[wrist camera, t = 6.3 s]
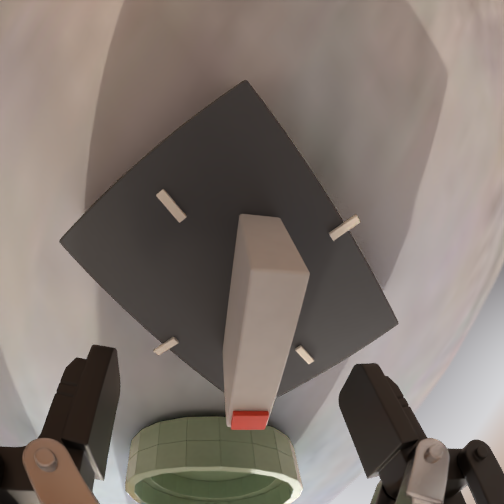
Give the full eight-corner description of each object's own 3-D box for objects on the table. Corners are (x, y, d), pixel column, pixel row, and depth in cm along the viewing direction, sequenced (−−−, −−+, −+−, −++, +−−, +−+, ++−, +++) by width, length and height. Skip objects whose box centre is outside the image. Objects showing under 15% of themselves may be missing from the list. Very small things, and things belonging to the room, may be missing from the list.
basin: (101, 440, 23) (92, 484, 18) (222, 385, 20) (225, 446, 16) (206, 490, 28) (207, 526, 24) (318, 450, 26) (330, 492, 21)
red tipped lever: (239, 212, 12) (252, 273, 8) (280, 216, 12) (314, 277, 8) (222, 351, 15) (226, 432, 11) (254, 353, 15) (268, 432, 11)
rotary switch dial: (76, 225, 15) (49, 251, 12) (251, 78, 13) (260, 69, 10) (238, 380, 20) (241, 417, 17) (385, 289, 18) (409, 319, 15)
